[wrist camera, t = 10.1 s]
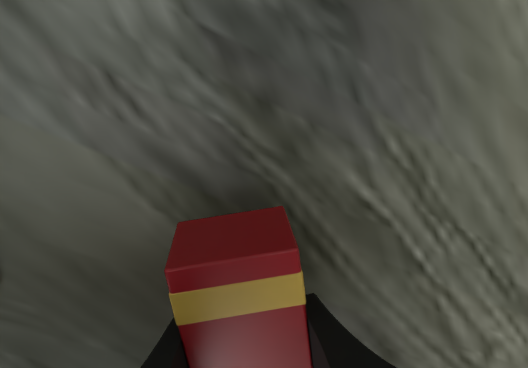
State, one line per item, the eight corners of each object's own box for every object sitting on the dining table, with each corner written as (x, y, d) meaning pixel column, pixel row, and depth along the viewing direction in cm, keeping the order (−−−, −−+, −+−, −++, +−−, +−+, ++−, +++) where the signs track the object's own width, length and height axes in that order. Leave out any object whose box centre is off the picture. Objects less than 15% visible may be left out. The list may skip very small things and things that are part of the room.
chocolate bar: (176, 221, 15) (162, 271, 11) (284, 204, 15) (300, 248, 11) (214, 385, 17) (211, 463, 14) (305, 369, 17) (323, 442, 14)
